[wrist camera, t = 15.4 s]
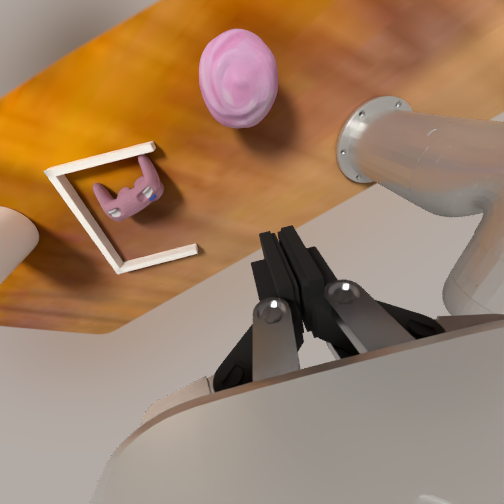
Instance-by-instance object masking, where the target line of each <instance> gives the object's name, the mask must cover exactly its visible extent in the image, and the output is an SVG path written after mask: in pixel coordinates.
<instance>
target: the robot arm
mask: <svg viewBox="0 0 504 504" xmlns="http://www.w3.org/2000/svg"><path fill="white" fill-rule="evenodd" d="M359 113H360V115H359ZM341 151H342V152H341ZM336 159H337V163H338V166H339V168H340V170H341V171H342V173H343V174H344V175H345V176H346V177H348V178H349V179H351V180H353V181H355V182H359V183H370V182H374V181H375V182H377V183H378V184H380V185H382V186H384V187H386V188H387V189H389V190H391V191H393V192H394V193H396V194H398V195H400V196H402V197H403V198H405V199H407V200H408V201H410V202H412V203H414V204H415V205H417V206H419V207H421V208H423V209H425V210H427V211H428V212H431V213H433V214H436V215H439V216H445V217H462V216H470V215H475V214H480V213H484V214H483V217H482V220H481V222H480V223H479V225H478V227H477V228H476V230H475V233H474V235H473V237H472V239H471V240H470V242H469V243H468V245H467V247H466V248H465V250H464V252H463V253H462V255H461V256H460V258H459V259H458V261H457V263H456V264H455V266H454V268H453V269H452V271H451V272H450V274H449V276H448V278H447V280H446V282H445V284H444V288H443V294H442V295H443V302H444V304H445V307H446V309H447V310H448V311H449V313H450V314H451V315H452V316H438V317H437V319H434V320H433V319H432V318H429V317H427V316H425V315H422V314H419V313H416V312H412V311H409V310H406V309H403V308H399V307H396V306H393V305H390V304H387V303H383V302H380V301H376V300H374V299H373V298H372V297H371V296H370V295H369V294H368V293H367V292H366V291H365V290H364V289H363V288H362V287H361V286H360V285H358V284H357V283H355V282H353V281H350V280H337V278H336V277H335V275H334V274H333V272H332V271H331V269H330V268H329V266H328V265H327V263H326V262H325V260H324V259H323V257H322V256H321V254H320V253H319V251H318V250H317V248H316V247H310V248H306V247H305V246H304V244H303V242H302V241H301V239H300V237H299V236H298V234H297V232H296V231H295V229H294V227H293V226H292V225H291V226H287V227H283V228H281V231H280V232H278V238H279V241H278V239H277V237H276V235H275V233H272V234H271V233H270V231H268V232H264V233H260V234H259V237H260V241H261V246H262V250H263V254H264V260H259V261H256V262H252V263H251V266H252V270H253V275H254V279H255V283H256V287H257V292H258V296H259V300H260V302H259V303H258V304H257V305H256V306H255V308H254V310H253V324H252V325H251V327H250V328H249V329H248V330H247V332H246V333H245V334H244V336H243V337H242V338H241V340H240V341H239V342H238V343H237V345H236V346H235V347H234V348H233V350H232V351H231V352H230V354H229V355H228V356H227V357H226V359H225V360H224V361H223V363H222V364H221V365H220V366H219V368H218V369H217V371H216V373H215V375H213V376H211V377H209V378H207V377H206V376H205V377H203V378H201V379H199V380H197V381H195V382H193V383H191V384H189V385H187V386H185V387H183V388H181V389H179V390H177V391H175V392H173V393H171V394H169V395H167V396H166V397H163V398H161V399H159V400H158V401H156V402H155V403H153V404H152V405H151V406H150V407H149V408H148V409H147V411H146V412H145V414H144V416H143V418H142V421H141V427H139V428H138V429H137V430H136V431H134V432H133V433H132V434H131V435H130V436H129V437H128V438H127V439H126V440H124V441H123V442H122V443H121V445H119V447H118V448H117V449H116V450H115V451H114V453H113V454H112V455H111V457H110V459H109V461H108V462H107V464H106V466H105V467H104V469H103V472H102V474H101V476H100V478H99V480H98V483H97V485H96V488H95V490H94V493H93V495H92V498H91V501H90V504H504V122H498V121H490V120H481V119H471V118H462V117H454V116H445V115H437V114H428V113H420V112H413V110H412V108H411V107H410V105H409V104H408V103H407V102H406V101H404V100H403V99H401V98H398V97H394V96H381V97H377V98H373V99H371V100H369V101H367V102H365V103H364V104H362V105H361V106H360V107H358V108H357V109H356V110H355V111H354V112H353V113H352V114H351V115H350V117H349V118H348V119H347V121H346V122H345V124H344V126H343V127H342V129H341V132H340V134H339V137H338V140H337V145H336ZM302 320H303V321H302ZM303 323H304V325H305V328H306V330H307V332H309V331H312V334H313V336H314V338H316V337H318V338H320V339H322V340H324V341H326V343H327V346H328V348H329V349H330V351H331V352H332V354H333V355H334V357H335V359H336V360H335V361H331V362H328V363H324V364H320V365H317V366H312V367H308V368H304V369H301V370H300V364H299V358H298V351H299V349H300V347H301V345H302V344H303V342H304V340H303V334H302V333H304V328H303Z"/></svg>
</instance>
